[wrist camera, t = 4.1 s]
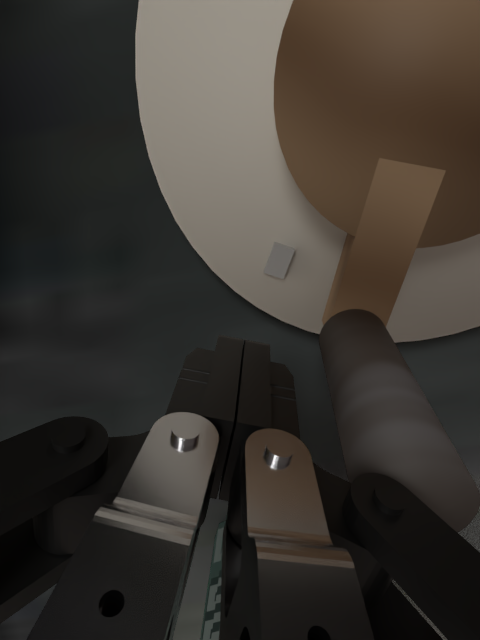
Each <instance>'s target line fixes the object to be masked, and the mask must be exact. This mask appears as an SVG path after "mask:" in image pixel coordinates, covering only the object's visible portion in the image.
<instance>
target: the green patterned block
mask: <svg viewBox="0 0 480 640" xmlns="http://www.w3.org/2000/svg"><path fill="white" fill-rule="evenodd" d="M226 518H227V515H226ZM225 522H226V521H224V522H221V523H219V527H218V529H217V534H216V535H215V541H214V548H213V555H212V562H211V569H210V576H209V582H208V589H207V596H206V603H205V610H204V617H203V624H202V631H201V638H200V640H219V631H220V610H221V576H222V543H223V530H224V526H225Z"/></svg>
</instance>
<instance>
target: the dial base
mask: <svg viewBox="0 0 480 640" xmlns="http://www.w3.org/2000/svg"><path fill="white" fill-rule="evenodd" d="M292 2H293V0H139V5H138V15H137V25H136V34H135V36H136V86H137V94H138V103H139V112H140V120H141V124H142V129H143V133H144V137H145V142H146V146H147V151H148V155H149V158H150V161H151V164H152V167H153V170H154V173H155V175H156V178H157V181H158V184H159V187H160V190H161V192H162V194H163V196H164V198H165V200H166V202H167V204H168V206H169V208H170V210H171V212H172V214H173V216H174V218H175V220H176V222H177V224H178V225H179V227H180V228H181V230H182V231H183V233H184V234H185V236H186V237H187V239H188V241H189V242H190V244H191V245H192V247H193V248H194V249H195V250H196V252H197V253H198V254H199V255H200V256H201V258H202V259H203V260H204V261H205V262H206V264H207V265H208V266H209V267H210V268H211V270H212V271H213V272H214V273H215V274H217V275H218V276H219V277H220V278H221V279H222V280H223V281H224V282H225V283H226V284H227V285H228V286H229V287H231V288H232V289H233V290H234V291H235V292H236V293H238V294H239V295H241V296H242V297H243V298H245V299H246V300H248V301H249V302H250V303H252V304H253V305H254V306H256V307H257V308H259V309H261V310H263V311H265V312H266V313H268V314H270V315H272V316H274V317H276V318H277V319H279V320H281V321H283V322H286V323H288V324H291V325H293V326H296V327H298V328H301V329H304V330H306V331H309V332H313V333H317V334H320V332H321V329H322V327H323V322H322V317H323V314H324V311H325V307H326V304H327V300H328V297H329V294H330V290H331V287H332V283H333V280H334V277H335V273H336V270H337V267H338V263H339V260H340V256H341V253H342V250H343V246H344V243H345V239H346V236H347V232H345V231H343V230H341V229H340V228H338V227H336V226H335V225H334V224H332V223H331V222H330V221H328V220H327V219H326V218H325V217H323V216H322V215H321V214H320V213H319V212H318V211H317V210H316V209H315V208H314V207H313V206H312V205H311V203H310V202H309V201H308V200H307V199H306V197H305V196H304V194H303V193H302V192H301V190H300V189H299V187H298V186H297V184H296V182H295V180H294V178H293V177H292V175H291V173H290V171H289V169H288V167H287V164H286V161H285V159H284V156H283V153H282V150H281V148H280V144H279V140H278V135H277V131H276V125H275V116H274V75H275V67H276V58H277V53H278V48H279V44H280V40H281V36H282V31H283V28H284V25H285V22H286V19H287V16H288V13H289V11H290V8H291V5H292ZM478 326H480V234H478V235H475V236H472V237H469V238H467V239H464V240H461V241H458V242H454V243H450V244H445V245H441V246H434V247H426V248H416V250H415V252H414V255H413V258H412V260H411V263H410V266H409V268H408V271H407V273H406V276H405V279H404V281H403V284H402V286H401V289H400V292H399V294H398V297H397V300H396V302H395V305H394V307H393V310H392V313H391V315H390V318H389V320H388V323H387V326H386V329H387V330H388V332H389V334H390V336H391V337H392V339H393V341H394V343H396V342H408V341H420V340H426V339H431V338H436V337H441V336H447V335H452V334H455V333H458V332H462V331H465V330H468V329H472V328H475V327H478Z"/></svg>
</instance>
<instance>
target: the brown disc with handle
mask: <svg viewBox="0 0 480 640" xmlns="http://www.w3.org/2000/svg"><path fill="white" fill-rule="evenodd" d="M274 116H275V125H276V131H277V135H278V140H279V144H280V148H281V150H282V153H283V156H284V159H285V161H286V164H287V167H288V169H289V171H290V173H291V175H292V177H293V178H294V180H295V182H296V184H297V186H298V187H299V189H300V190H301V192H302V193H303V194H304V196H305V197H306V199H307V200H308V201H309V202H310V203H311V205H312V206H313V207H314V208H315V209H316V210H317V211H318V212H319V213H320V214H321V215H322V216H323V217H325V218H326V219H327V220H328V221H330V222H331V223H332V224H334V225H335V226H336V227H338V228H340V229H341V230H343V231H345V232H347V236H346V239H345V243H344V246H343V250H342V253H341V256H340V260H339V263H338V267H337V270H336V273H335V277H334V280H333V283H332V287H331V290H330V294H329V297H328V300H327V304H326V307H325V311H324V314H323V317H322V322H323V327H322V329H321V332H320V336H319V345H320V349H321V354H322V359H323V363H324V368H325V373H326V378H327V382H328V387H329V392H330V396H331V401H332V406H333V410H334V415H335V420H336V424H337V429H338V434H339V438H340V443H341V448H342V452H343V457H344V462H345V466H346V471H347V476H348V480H349V483H352V482H353V480H354V479H355V478H356V477H357V476H359V475H361V474H364V473H378V474H382V475H386V476H388V477H390V478H392V479H394V480H396V481H398V482H399V483H401V484H402V485H404V486H405V487H406V488H407V489H409V490H410V491H411V492H412V493H413V494H414V495H415V496H417V497H418V498H419V499H420V500H421V501H422V502H423V503H424V504H426V505H427V506H428V507H429V508H430V509H431V510H432V511H433V512H435V513H436V514H437V515H438V516H439V517H440V518H441V519H442V520H444V521H445V522H446V523H447V524H448V525H449V526H450V527H451V528H453V529H454V530H455V531H456V532H457V533H458V532H459V531H461V530H462V529H463V528H465V527H466V526H467V525H468V524H469V523H470V522H471V521H472V520H473V518H474V517H475V515H476V514H477V512H478V509H479V506H480V494H479V490H478V488H477V486H476V484H475V482H474V480H473V479H472V477H471V475H470V473H469V472H468V470H467V468H466V466H465V465H464V463H463V461H462V459H461V458H460V456H459V454H458V453H457V451H456V449H455V447H454V446H453V444H452V442H451V440H450V439H449V437H448V435H447V433H446V432H445V430H444V428H443V426H442V425H441V423H440V421H439V419H438V418H437V416H436V414H435V412H434V411H433V409H432V407H431V405H430V404H429V402H428V400H427V398H426V397H425V395H424V393H423V391H422V390H421V388H420V386H419V384H418V383H417V381H416V379H415V378H414V376H413V374H412V372H411V371H410V369H409V367H408V365H407V364H406V362H405V360H404V358H403V357H402V355H401V353H400V351H399V350H398V348H397V346H396V344H395V343H394V341H393V339H392V337H391V336H390V334H389V332H388V330H387V329H386V326H387V323H388V320H389V318H390V315H391V313H392V310H393V307H394V305H395V302H396V300H397V297H398V294H399V292H400V289H401V286H402V284H403V281H404V279H405V276H406V273H407V271H408V268H409V266H410V263H411V260H412V258H413V255H414V252H415V250H416V248H426V247H434V246H441V245H445V244H450V243H454V242H458V241H461V240H464V239H467V238H469V237H472V236H475V235H478V234H480V0H293V2H292V5H291V8H290V11H289V13H288V16H287V19H286V22H285V25H284V28H283V31H282V36H281V40H280V44H279V48H278V53H277V58H276V67H275V75H274Z"/></svg>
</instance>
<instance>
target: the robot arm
mask: <svg viewBox="0 0 480 640" xmlns="http://www.w3.org/2000/svg"><path fill="white" fill-rule="evenodd" d="M242 348H243V349H242ZM295 399H296V398H295V391H294V380H293V376H292V374H291V373H290V371H289V370H288V369H287V367H286V366H285V365H283V364H278V363H273V362H270V345H269V344H264V343H259V342H254V341H249V340H245V341H244V345H243V339H238V338H233V337H228V336H223V335H219V336H218V341H217V345H216V349H215V351H210V350H205V349H200V348H197V349H195V350H194V351H193V352H191V353H190V354H189V355H187V356H186V359H185V362H184V365H183V368H182V370H181V373H180V376H179V379H178V381H177V384H176V387H175V390H174V392H173V395H172V398H171V401H170V403H169V406H168V409H167V412H166V414H165V416H163V417H162V418H160V419H159V420H157V421H156V422H155V424H154V425H153V427H152V428H151V430H150V431H148V432H145V433H142V434H139V435H134V436H124V437H108V434H107V431H106V430H105V428H104V427H103V426H102V425H101V424H100V423H98V422H96V421H95V420H92V419H89V418H85V417H64V418H59V419H56V420H53V421H50V422H48V423H45V424H43V425H40V426H38V427H36V428H33V429H31V430H28V431H26V432H23V433H21V434H18V435H16V436H14V437H11V438H9V439H6V440H4V441H1V442H0V623H2V622H3V621H5V620H6V619H7V618H9V617H10V616H12V615H13V614H14V613H16V612H17V611H19V610H20V609H21V608H23V607H24V606H26V605H27V604H28V603H30V602H31V601H33V600H34V599H35V598H37V597H38V596H39V595H41V594H42V593H44V592H45V591H46V590H48V589H49V588H51V587H52V586H53V585H55V584H56V583H57V584H56V586H55V588H54V590H53V592H52V594H51V595H50V597H49V599H48V601H47V603H46V605H45V606H44V608H43V610H42V612H41V614H40V616H39V617H38V619H37V621H36V623H35V625H34V627H33V628H32V630H31V632H30V634H29V636H28V637H27V639H26V640H172V639H173V635H174V630H175V626H176V622H177V618H178V614H179V610H180V606H181V602H182V598H183V594H184V590H185V587H186V583H187V579H188V575H189V571H190V567H191V563H192V559H193V555H194V551H195V547H196V543H197V539H198V535H199V531H200V527H201V525H202V523H203V522H204V520H205V517H206V513H207V509H208V504H209V499H210V498H214V499H216V498H217V494H218V490H219V485H220V481H221V486H220V494H219V499H221V500H226V501H229V503H228V512H227V518H226V522H225V526H224V530H223V543H222V576H221V610H220V631H219V640H443V639H442V638H441V637H440V636H439V635H438V634H437V633H436V631H435V630H434V629H433V628H432V627H431V626H430V625H429V624H428V622H427V621H426V620H425V619H424V618H423V617H422V616H421V615H420V613H419V612H418V611H417V610H416V609H415V608H414V607H413V606H412V604H411V603H410V602H409V601H408V600H407V599H406V598H405V597H404V595H403V594H402V593H401V592H400V591H399V590H398V589H397V588H396V586H395V585H394V584H393V583H392V580H393V579H394V580H395V581H396V582H397V583H398V585H399V586H400V587H401V588H402V589H403V590H404V591H405V592H406V593H407V595H408V596H409V597H410V598H411V599H412V600H413V601H414V602H415V603H416V605H417V606H418V607H419V608H420V609H421V610H422V611H423V612H424V613H425V615H426V616H427V617H428V618H429V619H430V620H431V621H432V622H433V623H434V625H435V626H436V627H437V628H438V629H439V630H440V631H441V632H442V633H443V635H444V636H445V637H446V638H447V639H448V640H480V552H478V551H477V550H476V549H475V548H474V547H473V546H472V545H471V544H469V543H468V542H467V541H466V540H465V539H464V538H463V537H462V536H460V535H459V534H458V533H457V532H456V531H455V530H454V529H453V528H451V527H450V526H449V525H448V524H447V523H446V522H445V521H444V520H442V519H441V518H440V517H439V516H438V515H437V514H436V513H435V512H433V511H432V510H431V509H430V508H429V507H428V506H427V505H426V504H424V503H423V502H422V501H421V500H420V499H419V498H418V497H417V496H415V495H414V494H413V493H412V492H411V491H410V490H409V489H407V488H406V487H405V486H404V485H402V484H401V483H399V482H398V481H396V480H394V479H392V478H390V477H388V476H386V475H382V474H378V473H364V474H361V475H359V476H357V477H356V478H355V479H354V480H353V482H352V483H349V482H347V481H345V480H343V479H341V478H338V477H336V476H334V475H332V474H330V473H328V472H326V471H324V470H323V469H321V468H319V467H318V466H317V465H316V464H314V463H313V462H312V458H311V455H310V452H309V450H308V448H307V447H306V446H305V444H304V443H303V442H302V441H301V440H300V435H299V425H298V416H297V407H296V401H295ZM221 477H222V478H221Z"/></svg>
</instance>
